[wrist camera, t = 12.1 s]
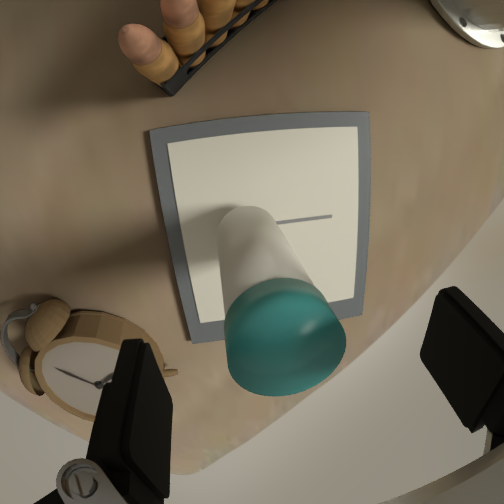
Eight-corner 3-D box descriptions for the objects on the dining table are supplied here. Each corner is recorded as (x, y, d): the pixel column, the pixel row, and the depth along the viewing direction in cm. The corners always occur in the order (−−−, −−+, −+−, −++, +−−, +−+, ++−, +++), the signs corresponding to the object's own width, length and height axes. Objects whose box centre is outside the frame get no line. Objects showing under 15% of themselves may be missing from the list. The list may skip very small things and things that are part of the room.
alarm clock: (140, 437, 26) (-9, 391, 19) (137, 398, 30) (2, 352, 23) (193, 371, 23) (-3, 302, 16) (184, 328, 27) (18, 262, 20)
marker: (273, 195, 20) (351, 297, 10) (277, 252, 22) (340, 383, 11) (210, 202, 20) (219, 318, 9) (218, 260, 22) (235, 403, 11)
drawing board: (365, 111, 19) (375, 112, 18) (359, 311, 26) (365, 320, 25) (150, 129, 18) (146, 131, 17) (192, 339, 25) (192, 350, 24)
